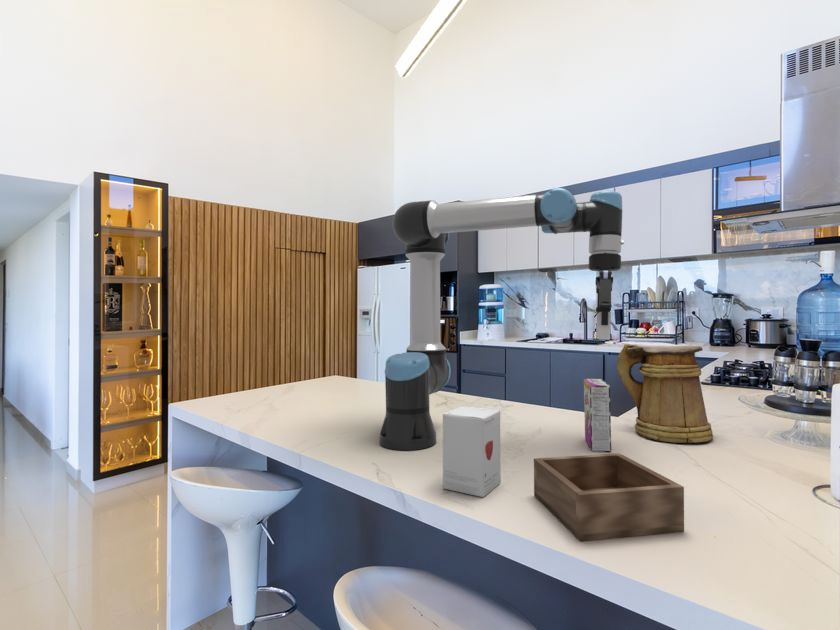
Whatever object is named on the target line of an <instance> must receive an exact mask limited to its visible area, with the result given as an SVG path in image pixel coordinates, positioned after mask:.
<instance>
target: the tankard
mask: <svg viewBox="0 0 840 630" xmlns="http://www.w3.org/2000/svg"><path fill="white" fill-rule="evenodd" d="M702 351H703V348H702V346H700V345H679V346H677V345H675V346H642V345H639V344H638V345H637V344H631V343H624V344H623V347H622V349H621V351H619V354H618V357H617V362H616V369H617V373H618V376H619V379H620V380H621V383H622V384H623V385H624V387H625V389H626V390H627V393H628V394H629V395H630V396H631V398H632V400H633V402H634V404H635V407H636V409H637V410H636V411H637V417H636V418H635V422H636V423H635V424H634V429H635V431H636V432H637V434H638V435H639V436H640V437H643V436H644V437H643V438H645V437H646V439H649V438H650V439H649V440H652V439H654V440H653V441H658V442H659V441H660V442H667V443H675V444H678V443H679V444H694V443H695V444H696V443H703V442H708V441H711V440H713V439H714V435H713V430H712V425H711V423H709V421H708V416H707V412H706V410H707V409H706V406H705V402H704V397H703V391H702V390H703V389H702V385H701V381H700V379H701V378H700V376H702V370H701V366H700V363H698V362H697V359H696V354H695V353H699V352H702ZM636 364H637V365H638V364H640V365H641V366H640V367H639V368H638V371H639V374H641V375H642V376H643V380H642V381H639V380H636V379H635V378H634V376H633V374H632V368H633V367H634V365H636Z"/></svg>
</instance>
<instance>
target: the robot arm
mask: <svg viewBox="0 0 840 630" xmlns="http://www.w3.org/2000/svg"><path fill="white" fill-rule="evenodd" d="M391 224H392V231H393V232H394V235H395V237H396V238H397V239H398V240H399V241H400V242H401V243H403V244H405V258H407V259H408V260H409V261H410V304H411V306H410V309H411V311H410V312H411V313H410V316H411V317H410V318H411V343H410V344H409V345H408V346H407V347H406V352H402V353H395V354H392V355H390V356H389V357H388V358H387V359H386V360H385V367H384V368H385V369H384V376H385V379H384V380H385V383H384V384H385V386H384V387H385V416H384V419H383V423H382V426H381V430H380V433H379V445H380V446H381V447H384V448H386V449H390V450H396V451H415V450H416V451H417V450H423V449H427V448H430V447H433V446H435V445H436V444H437V432H436V428H435V426H434V423H433V420H432V416H431V413H430V395H432V394H435V393H438V392H440V391H441V390H442V389H443V388H444V387H445V386H446V385H447V384H448V382H449V381H450V378H451V374H452V371H451V370H452V369H451V364H450V362H449V360H448V359H447V348H446V347H445V346H444V344H443V343H442V341H441V260H442V259H444V257H445V256H446V245H448V242H449V238H450V233H464V232H466V233H467V232H478V231H479V232H480V231H489V230H503V229H516V228H531V227H541V232H543V233H544V234H554V235H557V234H566V233H585V232H586V233H587V232H589V238H588V253H589V254H590V255H589V256H588V269H589V271H593V272H598V276H596V277H595V286H596V287H595V289H596V291H595V293H596V294H597V297H596V298H597V303H596V304H597V305H596V309H595V312H596V324H595V325H596V326H595V327H596V328H595V329H596V330H595V336H596V337H595V338H596V339H597V340H603V341H604V340H608V341H609V340H611V325H612V324H611V322H612V316H611V315H612V312H611V311H612V307H613V305H612V291H613V284H614V277H613V276H612V274H613V272H615V271H619V270H621V267H622V256H621V254H620V253H621V252H622V245H624V244H625V241H624V240H622V232H623V231H622V229H623V196H622V194H621V193H620V192H618V191H616V190H615V191H614V190H602V191H597V192H594V193H592V194H591V195H590V199H589V201H583V202H577V201H576V198H575V196H574V195H573V194H572V193H571V192H570V191H569V190H567V189H565V188H561V187H555V188H552V189H550V190H548V191H547V192H545V193H538V194H529V195H528V194H527V195H518V196H506V197H496V198H485V199H484V198H483V199H475V200H473V199H472V200H463V201H454V202H444V203H438V202H437V201H436V200H432V199H431V200H422V201H410V202H408V203H405V204H403V205H401V206H400V207H398V208H397V210H396V211H395V213H394V215H393V218H392V223H391Z"/></svg>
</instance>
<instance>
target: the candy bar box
mask: <svg viewBox="0 0 840 630" xmlns="http://www.w3.org/2000/svg"><path fill="white" fill-rule="evenodd" d="M583 403H584V404H583V406H584V409H583V410H584V412H583V413H584V439H585V441H586V443H587V445H588V447H589V448H590V451H591V452H595V451H610V452H609V453H611V452H612V424H611V422H612V421H611V416H612V414H611V413H612V412H611V385H610V384H608V383H607V382H606V381H605V380H604V379H602V378H584V379H583Z"/></svg>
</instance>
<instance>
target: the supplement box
mask: <svg viewBox="0 0 840 630" xmlns="http://www.w3.org/2000/svg"><path fill="white" fill-rule="evenodd" d="M501 448H502V447H501V409H494V408H487V407H486V408H483V407H476V406H475V407H474V406H469V405H468V406H467V405H461V406H459V407H457V408H454V409H451V410H449V411H446V412H443V413H442V489H445V490H450V491H452V492H453V491H454V492H457V493H462V494H466V495H471V496H476V497H478V498H479V497H480V498H484V497H486V496H487V495H488V494H490V492H492V491H493V490H494V489H495V488H496V487H497V486H499V485H500V484H501V483H502V480H501V479H502V477H501V476H502V475H501V467H502V466H501V464H502V463H501V460H502V459H501V452H502V451H501Z"/></svg>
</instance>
